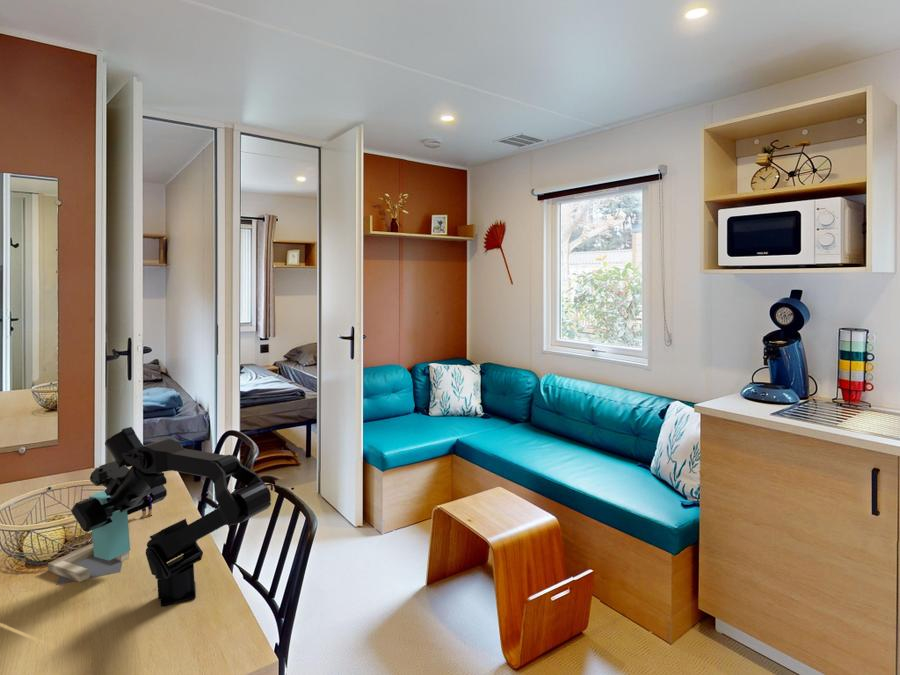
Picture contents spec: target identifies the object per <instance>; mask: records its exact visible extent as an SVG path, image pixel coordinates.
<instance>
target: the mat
mask: <svg viewBox="0 0 900 675" xmlns="http://www.w3.org/2000/svg"><path fill="white" fill-rule="evenodd" d="M74 565H77V566H80V567H83V568H87V569H89V578H88V579H92V578H98V577H103V576H108V575H112V574H118V573H121V570H122V565H123V561H122V562H121V561H118V560H115V559H112V560H110V561H108V560H105V559H101V558H98V557H94V555H92V556H90V557H88V558H86V559H84V560H82V561H80V562H78V563H75V564H74ZM58 576H59V577H58V579H57V581H56V583H55V585H56V586H57V585H58V586H59V585H62V584H68V583H72V582H76V581H75V580H72V579H69V578H66V577H63V576H60V575H58Z"/></svg>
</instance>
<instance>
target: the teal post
mask: <svg viewBox="0 0 900 675" xmlns="http://www.w3.org/2000/svg"><path fill="white" fill-rule="evenodd" d="M105 490H106V489H104V490H101V491H98V492H96V493H93V494H91V495H89V496H88V498H91V497H94V498H96V499H97V500H99V501H100V503H101V504H102V505H103V504H105V503H108V502H107V501H106V499H107V498H109V497H110V495H109V496H107V495H106V493H105V492H104V491H105ZM128 517H129V515H128V514H127V511H125V512H122V513H121V512H120V510H119V511H116V512H114V513H113V515H112V516H111V517H110V518H111V520H112V521H113V522H111V523H109V524H107V525H104V526H102V527H99V528H96V529H94V530H91V536H92V537H91V538H92V543H93V551H94V557H98V558H101V559H105V560H108V561H110V560H112V559H114V558H116V557H118V556H120V555H122V554H124V553H126V552H128V551H129V552H130V551H131V543H130V541H131V540H130V530H129V529H130V528H129V518H128Z"/></svg>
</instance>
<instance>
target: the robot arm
mask: <svg viewBox="0 0 900 675" xmlns="http://www.w3.org/2000/svg"><path fill="white" fill-rule="evenodd" d="M104 446H105V447H106V449H108V451H109V453H110V454H111V456H112V458H113V459H114V461H111V462H107V463H105V464H101V465H100V466H98V467H97V468H95V469H94V471H92V472H91V474H90V476H89V480H90V482H91V483H92V484H93V485H95V486H96V487H99V486H101V485H102V486H104V487H105V488H106V489H104V490H105V491H104V490H103V491H104V492H105V493H106V495H107V496H109V495H110V497H109V498H107V499H106V501H107V502H108V503H105V504H103V505H102V504H101V503H100V501H99V500H97V499H96V498H94V497H91V498H89V497H88V498H86V499H83V500H81V501H77V502H75V504H73V506H72V508H71V511H70V513H71V514H72V515H73V517H74V518H75V520H76V521H77V523H78V524H79V526H80V528H81V529H82V531H83V532H86V533H88V532H92V530H94V529H96V528H99V527H102V526H104V525H107V524H109V523H111V522H113V521H112V520H111V518H110V517H111V516H112V515H113V513H114V512H116V511H119V510H120V512H121V513H122V512H125V511H127V514H128V516H129V515H131V514H134V513H136V512H139V511H142V509H144V508H146V509H147V508H148V507H149V506H150V505H151V503H152V505H154V504H156V503H158V502H161V501H163V500H164V499H165V498H166V497H167V495H168V491H167V488H166V486H165V485H166V484H167V482H168V481H167V477H166V476H165V473H164V472H171V471H173V472H178V473H183V474H189V475H194V476H198V477H205V478H208V479H210V481H211V482H212V483H213V485H214V496H215V501H216V502H217V504H218V507H217V508H216V509H214V510H212V511H211V512H209V513H207V514H205V515H204V516H202V517H199V518H197V519H196V520H195V521H192V522H191V523H189V524H188V522H187V519H186V518H184V519H181V520H179V521H177V522H175V523H173V524H171V525H169V526H167V527H165V528H163V529H160V530H159V531H158V532H156V533H154V534H152V535H149V538H150V539H149V540H148V541H147V543H146V549H145V556H146V559H147V563H148V567H149V571H150V573H151V575H152V576H154V578H155V579H156V580H157V581H156V582H157V584H156V586H157V599H158V600H160V606H161V607H164V606H168V605H169V606H170V605H173V604H177V603H182V602H186V601H187V602H188V601H190V600H194V599H196V597H197V596H196V594H197V592H196V581H195V566H194V564H196V563H198V562H200V561H202V558H203V554H204V553H203V552H204V551H203V550H202V549H201V547H200V546H199V544H198V543H197V541H198V540H200V539H202V538H204V537H206V536H208V535H210V534H211V533H213V532H215V531H217V530H218V529H221V528H222V527H224V526H229V527H230V526H234V525H237V524H238V525H239V524H241V523H243V522H246V521H247V520H249V519H251V518H253V517H255V516H256V515H259V514H260V513H262V512H264V511H266V510H268V509H269V508H270V507H271V505H272V503H271V502H272V498H271V496H272V495H271V491H270V489H269V488H268V486H267V485H266V483H265V482H264V481H263V479H262V478H261V477H260V475H259V474H258V473H257V472H255V471H253V470H252V469H250V468H248V467H247V466H245V465H243V464H242V462H241V461H240V460H239V458H238V457H237V456H236V455H234V454H220V453H214V452H209V451H208V452H207V451H201V450H197V449H196V450H195V449H189V448H185V447H183V445H182V443H181V442H180V441H179V442H178V441H176V440H174V439H171V438H164V439H161V440H158V441H155V442H151V443H148V444H143V443H142V442H141V440H140V439H139V437H138V435H137V434H136V432H135V430H134V428H133V427H132V426H129V427H125V428H122V429H121V430H120V431H119V432H117V433H115V434H114V435H111V436H110V437H109V438H107V439H106V440H105V442H104ZM230 476H231V477H232V478H233V479H236V480H237V481H238V482H240V483H242V484H244V485H245V486H244V487H242V488H240V489H238V490H235V491H233V492H232V493H231V491H230V490H229V489H228V483H227V478H228V477H230ZM149 495H150V497H151V498H152V500H151V501H150V502H151V503H150V502H149V500H148V498H149V497H148V496H149Z"/></svg>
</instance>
